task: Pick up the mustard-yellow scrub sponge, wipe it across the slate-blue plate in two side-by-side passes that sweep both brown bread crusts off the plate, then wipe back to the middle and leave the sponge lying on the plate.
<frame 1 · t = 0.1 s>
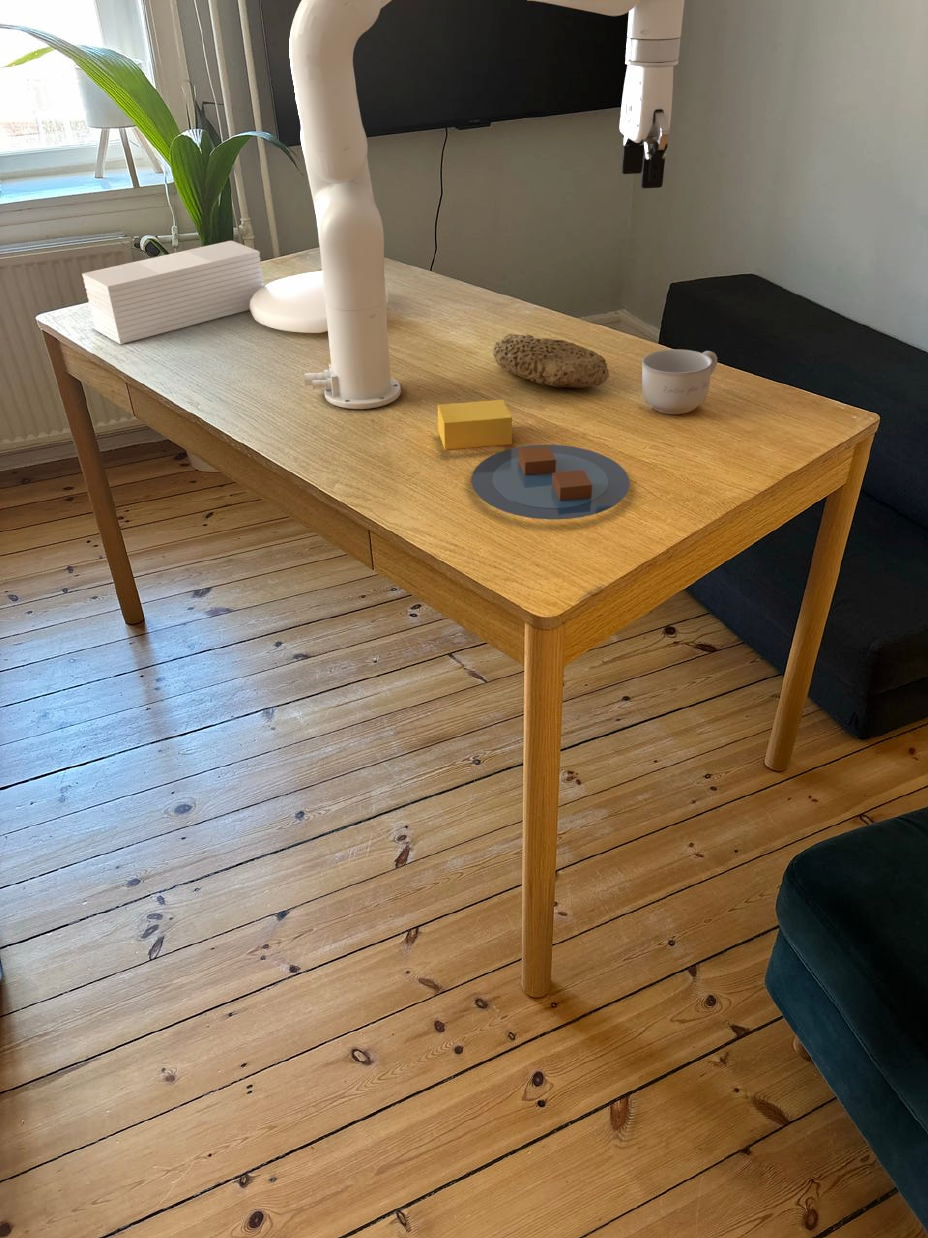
hand: (641, 180, 151), 31 cm above the table, tool pointing down, fingers open, 9 cm apart
crust b: (571, 491, 133), point 1 cm above the table, touching side plate
white long rectangular block: (183, 318, 196), on the table
side plate: (549, 487, 137), on the table
crust a: (536, 466, 139), point 1 cm above the table, touching side plate
teacup: (679, 406, 159), on the table
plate: (321, 315, 196), on the table
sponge: (550, 381, 168), on the table
scrub sponge: (474, 444, 148), on the table
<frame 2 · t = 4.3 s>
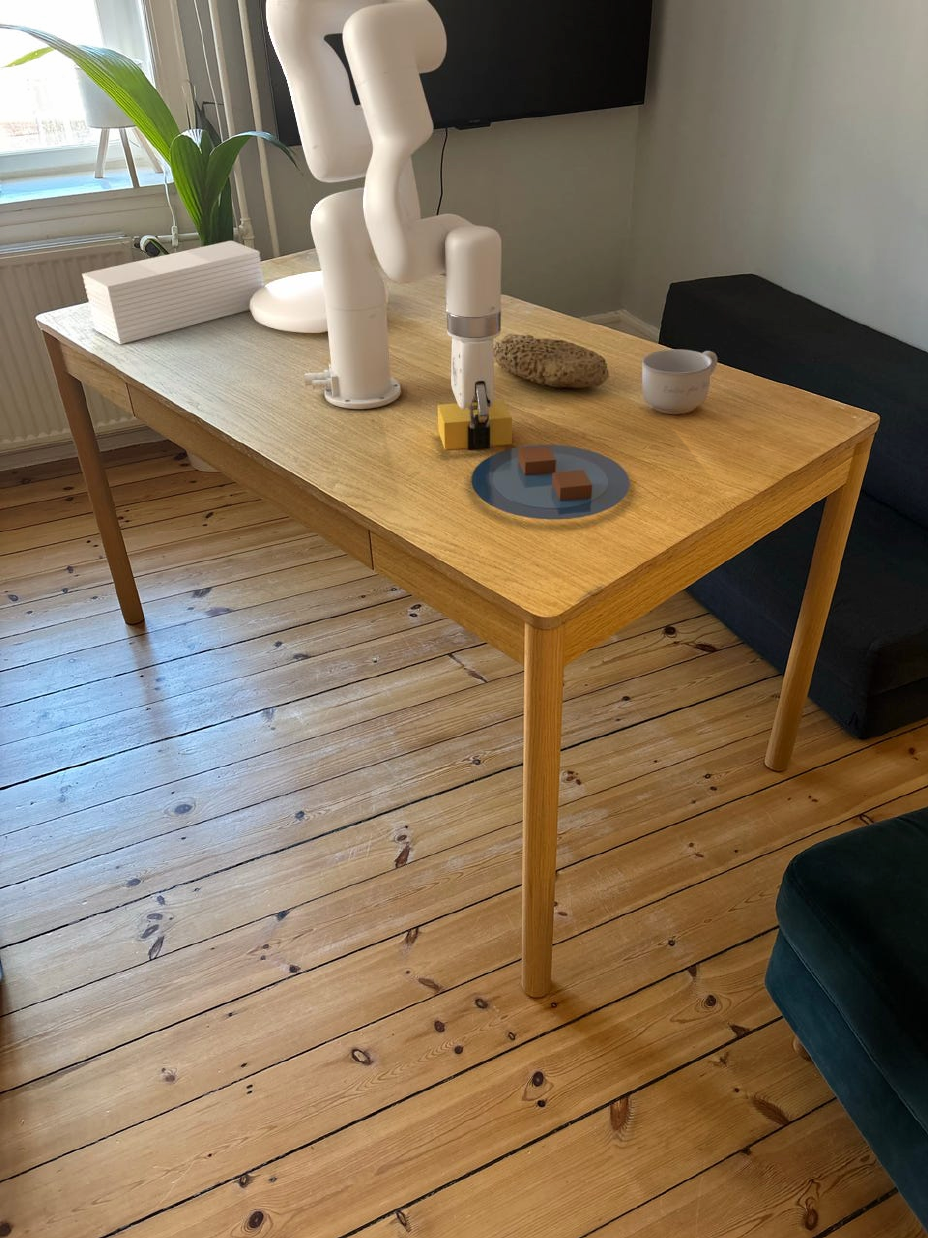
hand: (474, 438, 147), 1 cm above the table, tool pointing down, fingers closed on scrub sponge, 6 cm apart
scrub sponge: (474, 445, 148), on the table, touching gripper
everything else where it was.
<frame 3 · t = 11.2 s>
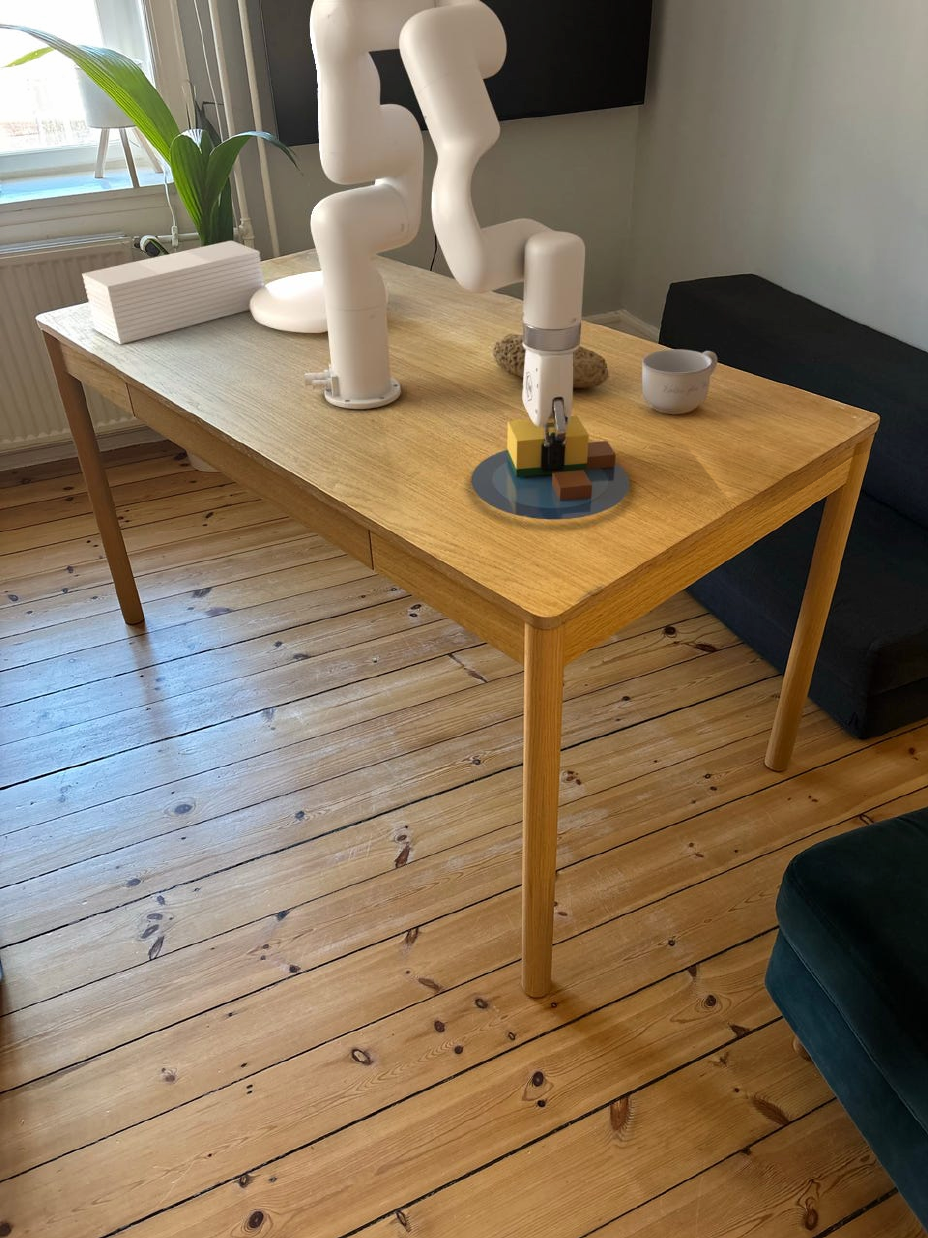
hand: (546, 457, 138), 3 cm above the table, tool pointing down, fingers closed on scrub sponge, 6 cm apart
crust a: (595, 461, 140), point 1 cm above the table, touching scrub sponge, side plate
scrub sponge: (546, 463, 139), point 2 cm above the table, touching crust a, gripper
everything else where it was.
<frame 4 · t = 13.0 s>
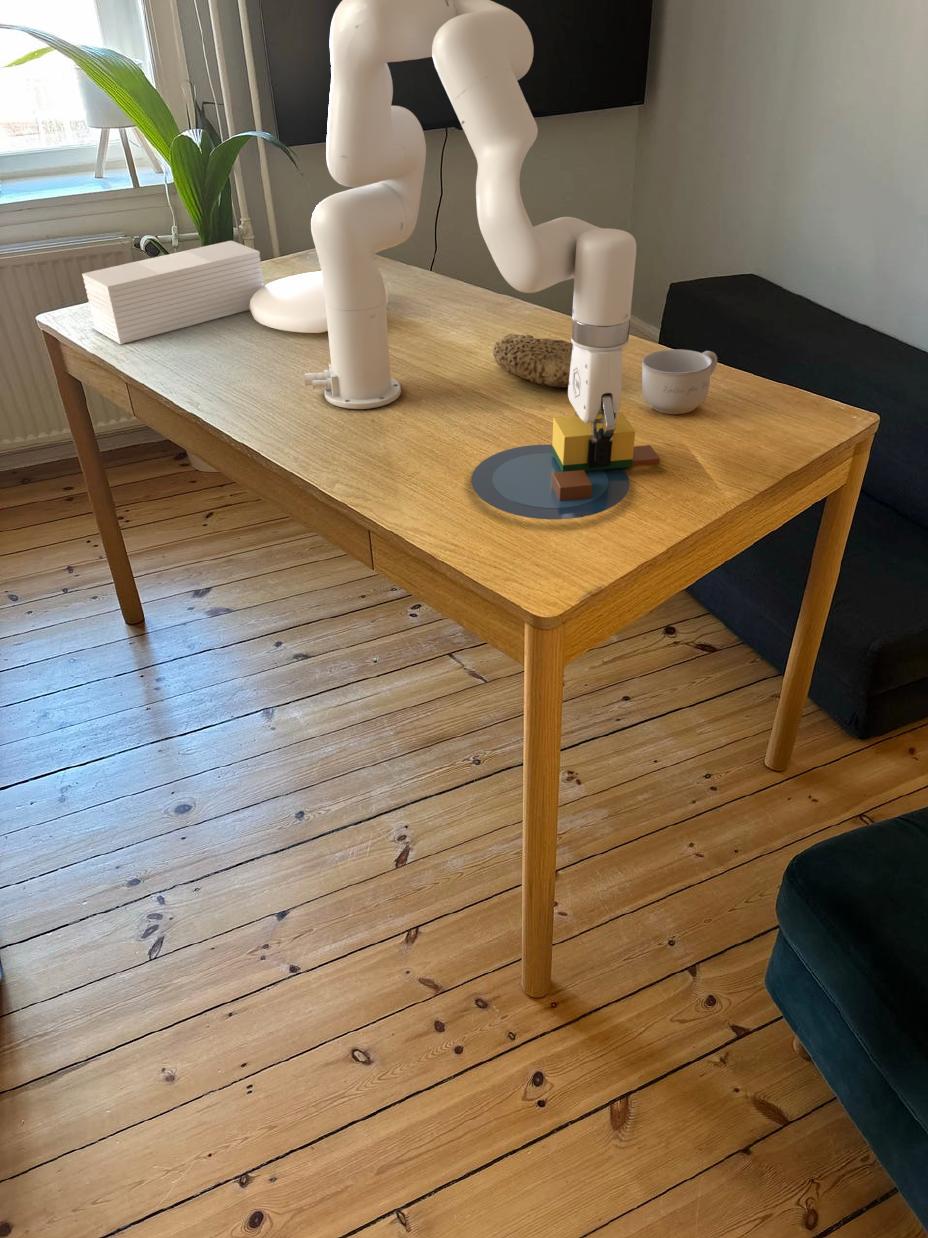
hand: (591, 453, 139), 3 cm above the table, tool pointing down, fingers closed on scrub sponge, 6 cm apart
crust a: (639, 465, 142), on the table, touching scrub sponge
scrub sponge: (591, 459, 140), point 2 cm above the table, touching crust a, gripper
everything else where it was.
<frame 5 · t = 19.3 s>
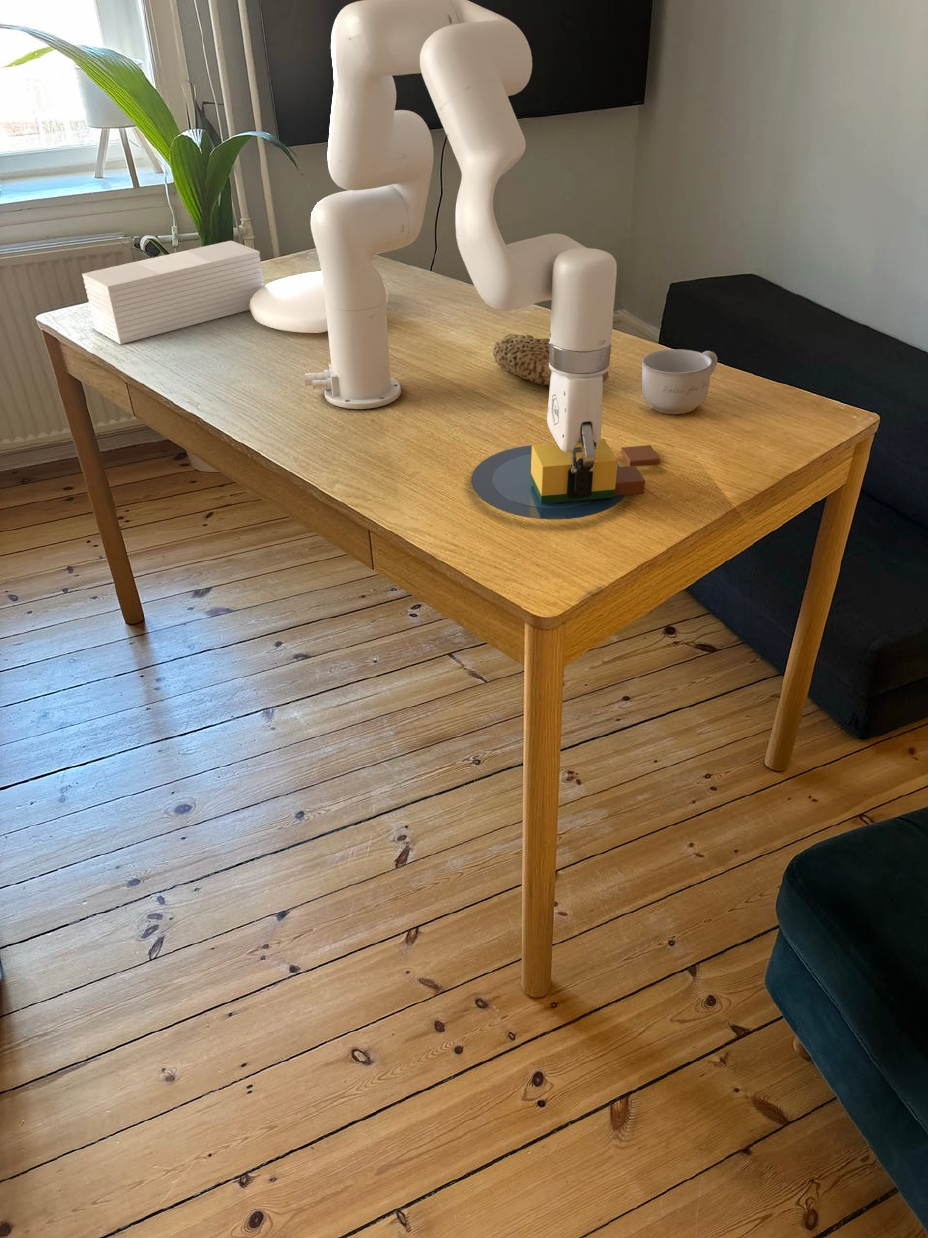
hand: (572, 482, 132), 3 cm above the table, tool pointing down, fingers closed on scrub sponge, 6 cm apart
crust b: (623, 487, 134), point 1 cm above the table, touching side plate
crust a: (639, 465, 142), on the table
scrub sponge: (571, 489, 133), point 2 cm above the table, touching gripper
everything else where it was.
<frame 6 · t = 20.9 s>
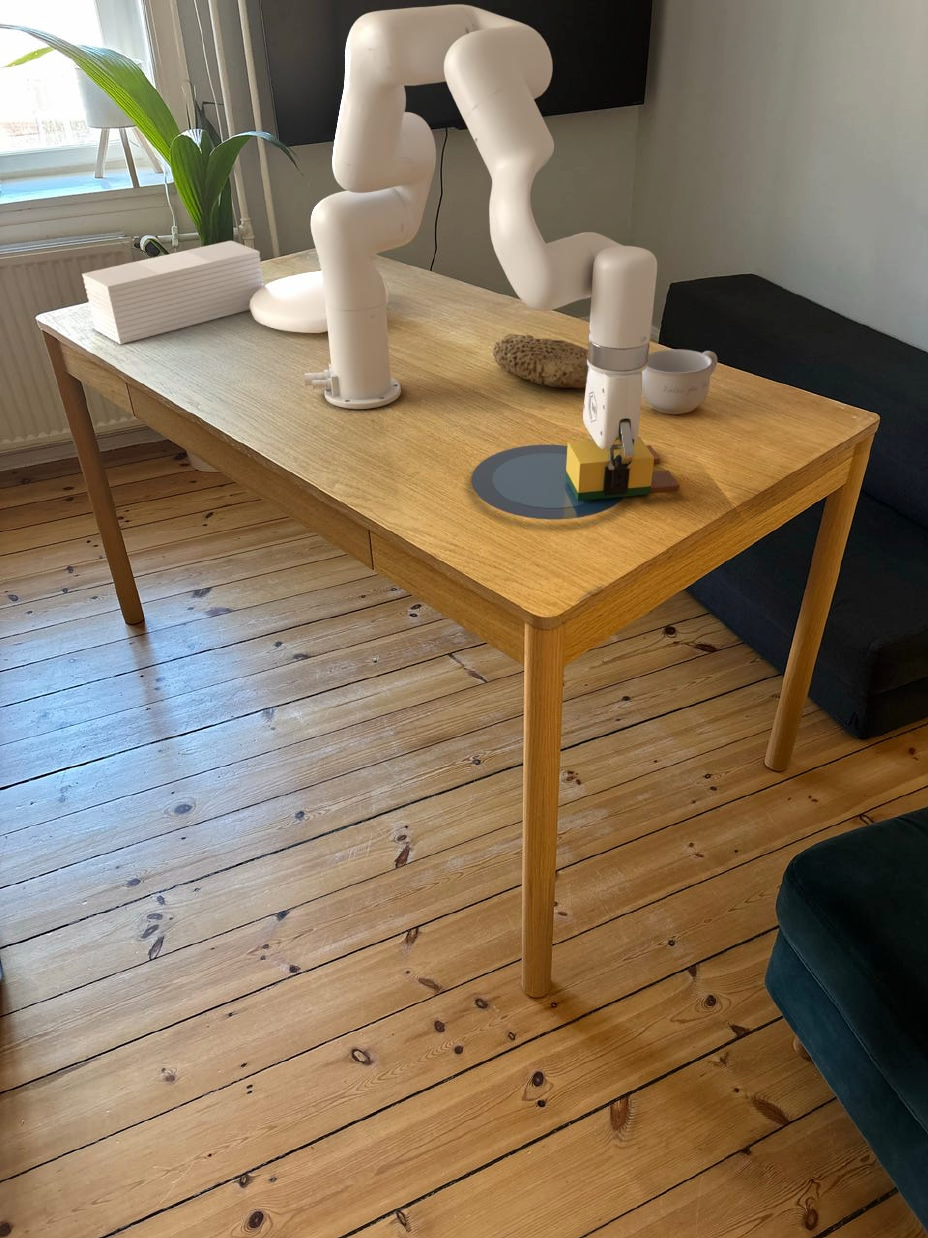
hand: (607, 479, 133), 3 cm above the table, tool pointing down, fingers closed on scrub sponge, 6 cm apart
crust b: (657, 492, 135), on the table, touching scrub sponge
scrub sponge: (607, 486, 133), point 2 cm above the table, touching crust b, gripper
everything else where it was.
when the fingers open (2 cm above the table, at t = 24.0 s): scrub sponge stays where it is, resting on side plate.
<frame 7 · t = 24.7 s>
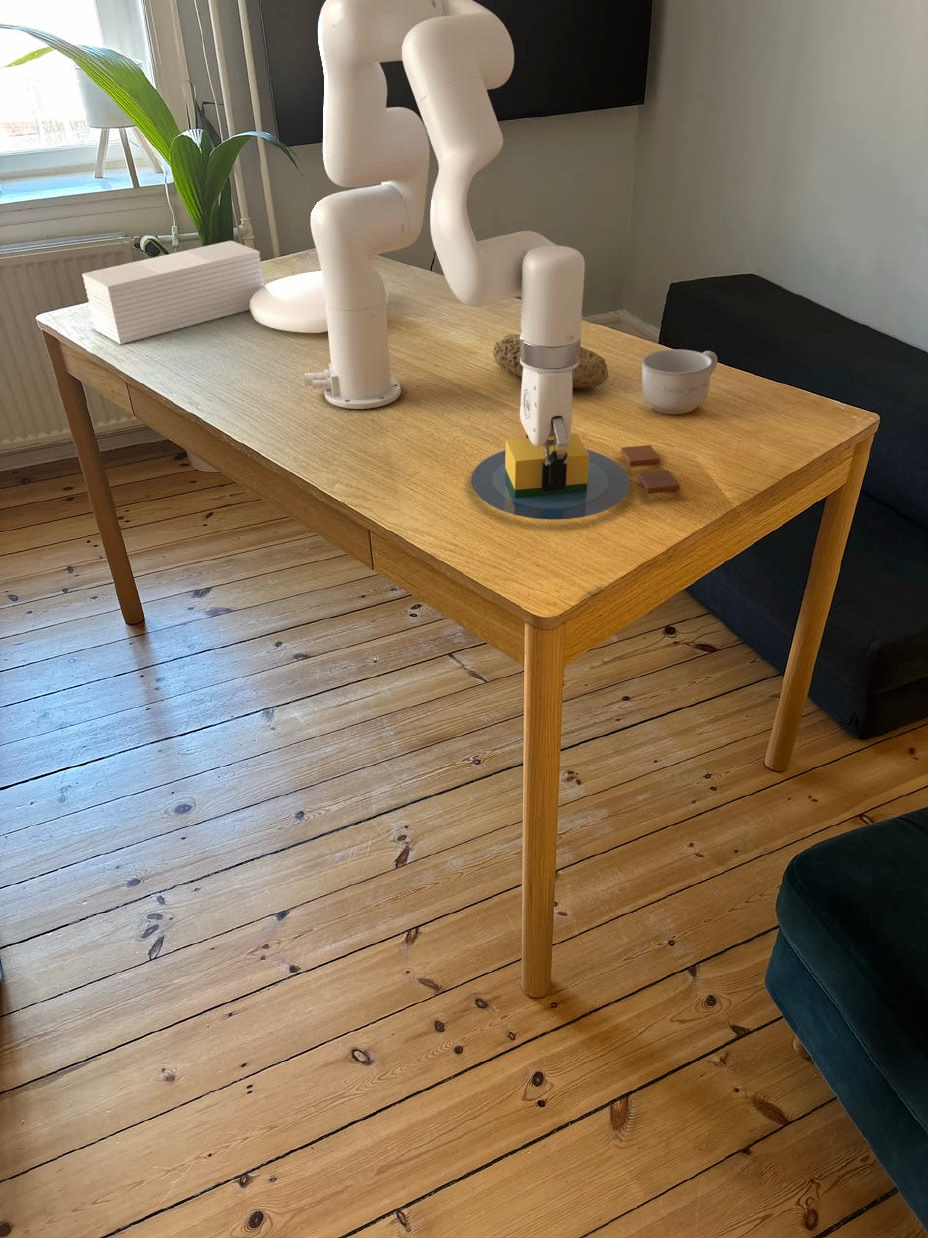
hand: (544, 472, 134), 3 cm above the table, tool pointing down, fingers open, 9 cm apart
crust b: (657, 491, 135), on the table
scrub sponge: (545, 483, 135), point 1 cm above the table, touching side plate
everything else where it was.
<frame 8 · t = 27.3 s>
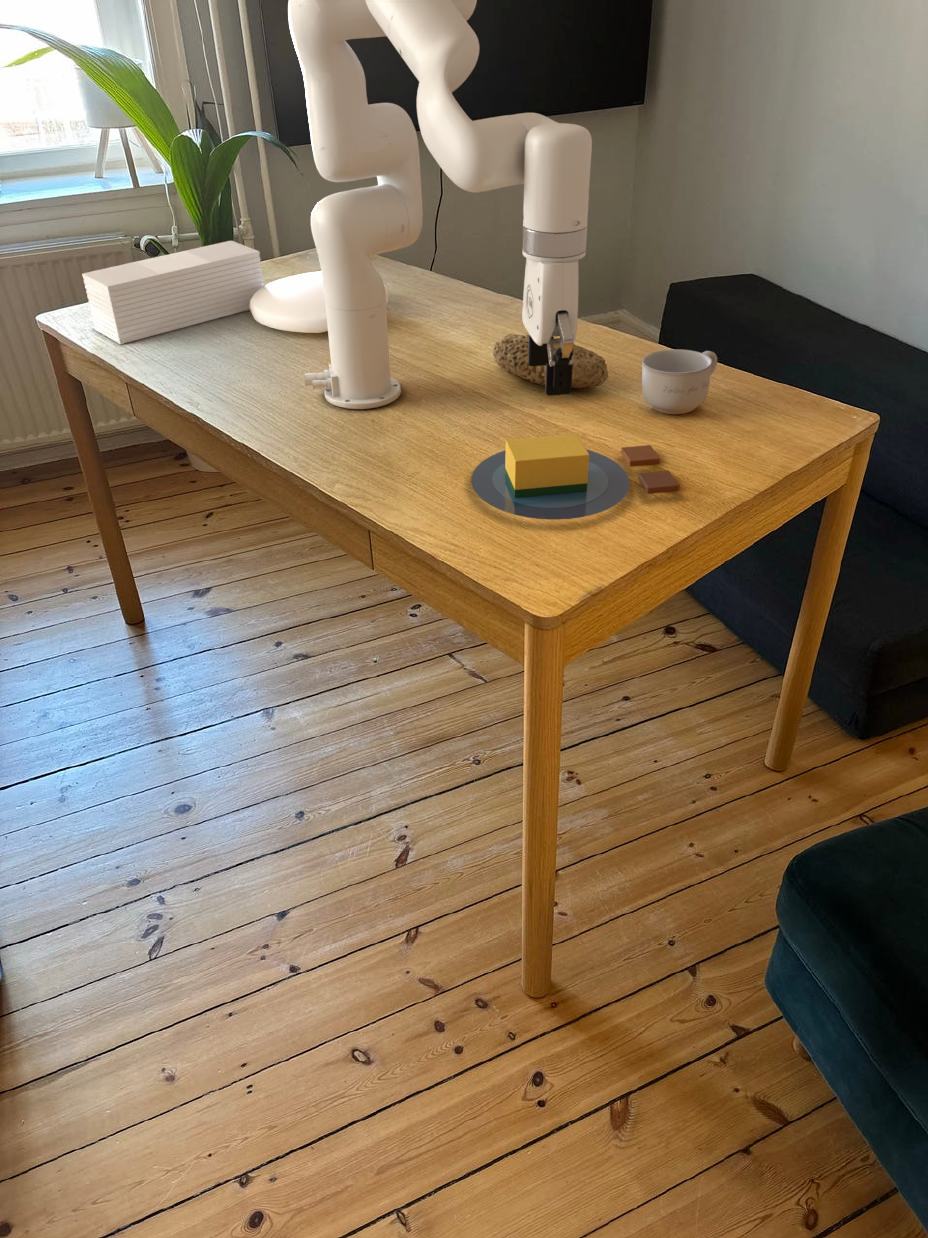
hand: (548, 378, 126), 16 cm above the table, tool pointing down, fingers open, 9 cm apart
nothing on the table moved.
at the end: crust a on the table; crust b on the table; scrub sponge inside the target area on the side plate (1.4 cm from its centre), point 1.2 cm above the side plate's base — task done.
